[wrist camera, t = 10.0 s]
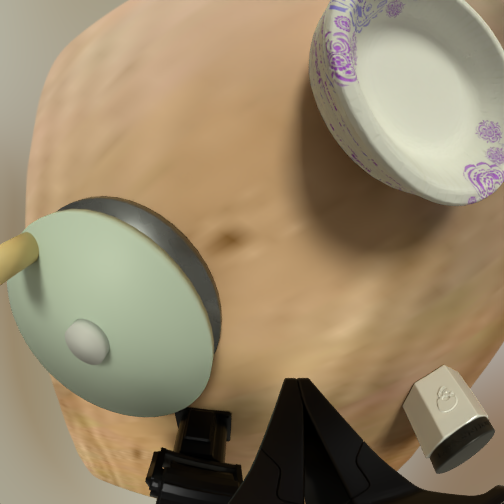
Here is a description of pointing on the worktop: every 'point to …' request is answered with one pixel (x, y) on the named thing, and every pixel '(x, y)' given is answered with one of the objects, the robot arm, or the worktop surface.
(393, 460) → the worktop surface
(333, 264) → the worktop surface
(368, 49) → the paper bowls
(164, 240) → the grey metal shallow dish
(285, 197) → the worktop surface
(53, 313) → the handwheel
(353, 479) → the robot arm
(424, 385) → the jar
